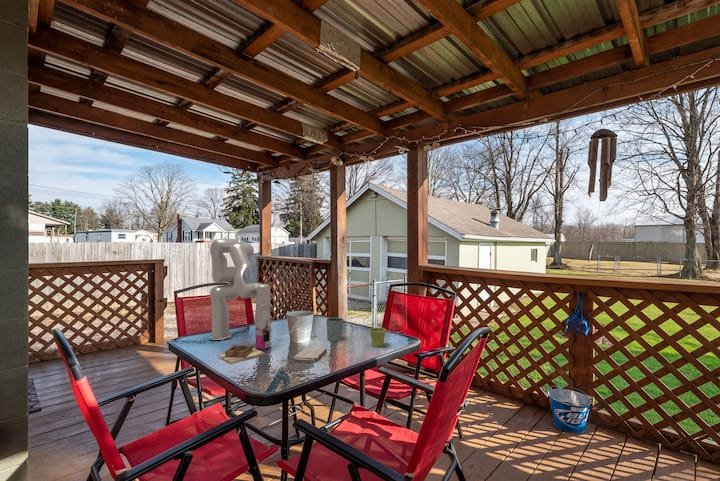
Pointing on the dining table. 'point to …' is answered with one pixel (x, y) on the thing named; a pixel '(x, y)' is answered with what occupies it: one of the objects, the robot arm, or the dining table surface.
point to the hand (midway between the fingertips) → (263, 339)
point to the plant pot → (377, 336)
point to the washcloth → (310, 355)
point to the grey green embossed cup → (334, 329)
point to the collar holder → (240, 353)
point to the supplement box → (261, 340)
